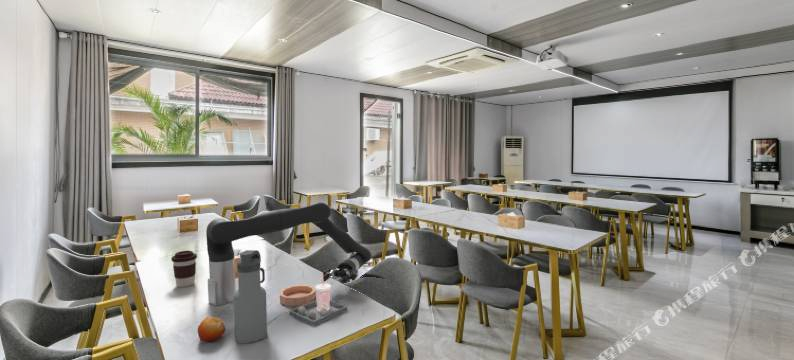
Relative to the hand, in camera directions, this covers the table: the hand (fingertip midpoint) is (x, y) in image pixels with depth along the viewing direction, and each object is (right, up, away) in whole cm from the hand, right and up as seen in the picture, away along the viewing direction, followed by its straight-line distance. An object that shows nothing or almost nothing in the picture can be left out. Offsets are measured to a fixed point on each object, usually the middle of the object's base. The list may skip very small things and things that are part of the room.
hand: (333, 279), depth 148 cm
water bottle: (-22, -10, -30) cm, 38 cm away
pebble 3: (-1, -9, -16) cm, 18 cm away
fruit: (-33, -11, -32) cm, 47 cm away
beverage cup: (-2, -9, -9) cm, 13 cm away
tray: (-4, -9, -12) cm, 16 cm away
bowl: (-15, -8, +1) cm, 17 cm away
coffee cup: (-71, -7, +18) cm, 73 cm away
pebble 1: (-9, -9, -14) cm, 19 cm away
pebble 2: (-5, -9, -18) cm, 21 cm away
